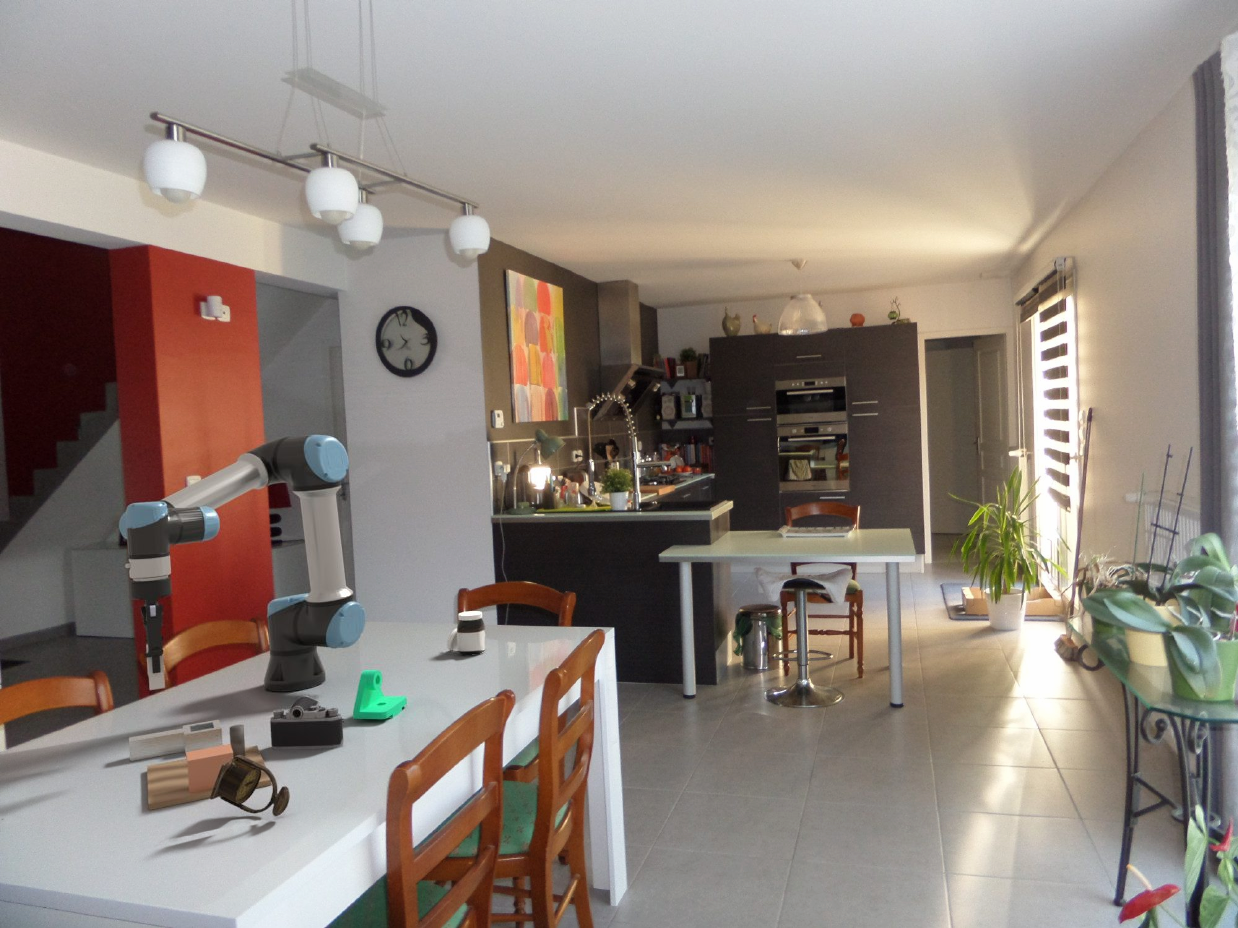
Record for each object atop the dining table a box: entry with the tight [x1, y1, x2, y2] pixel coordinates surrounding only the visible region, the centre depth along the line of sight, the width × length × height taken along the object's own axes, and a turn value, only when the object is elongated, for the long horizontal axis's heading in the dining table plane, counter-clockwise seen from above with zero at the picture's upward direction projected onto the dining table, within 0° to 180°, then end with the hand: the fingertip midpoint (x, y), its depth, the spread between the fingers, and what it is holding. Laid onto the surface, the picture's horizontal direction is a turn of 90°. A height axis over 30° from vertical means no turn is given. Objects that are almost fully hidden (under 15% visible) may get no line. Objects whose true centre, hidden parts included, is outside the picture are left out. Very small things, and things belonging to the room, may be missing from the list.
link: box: [128, 719, 223, 762], centre depth 189 cm, size 17×7×4 cm, turn 118°
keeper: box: [185, 743, 234, 793], centre depth 166 cm, size 6×8×6 cm
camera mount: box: [352, 669, 408, 720], centre depth 208 cm, size 12×8×10 cm, turn 168°
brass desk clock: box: [209, 755, 291, 817], centre depth 154 cm, size 7×13×10 cm, turn 95°
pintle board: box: [146, 724, 272, 811], centre depth 172 cm, size 22×20×7 cm
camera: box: [269, 695, 346, 750], centre depth 190 cm, size 16×8×10 cm, turn 86°
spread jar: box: [446, 610, 487, 656], centre depth 264 cm, size 12×11×12 cm
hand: (156, 681), depth 186 cm, fingers open, 13 cm apart
